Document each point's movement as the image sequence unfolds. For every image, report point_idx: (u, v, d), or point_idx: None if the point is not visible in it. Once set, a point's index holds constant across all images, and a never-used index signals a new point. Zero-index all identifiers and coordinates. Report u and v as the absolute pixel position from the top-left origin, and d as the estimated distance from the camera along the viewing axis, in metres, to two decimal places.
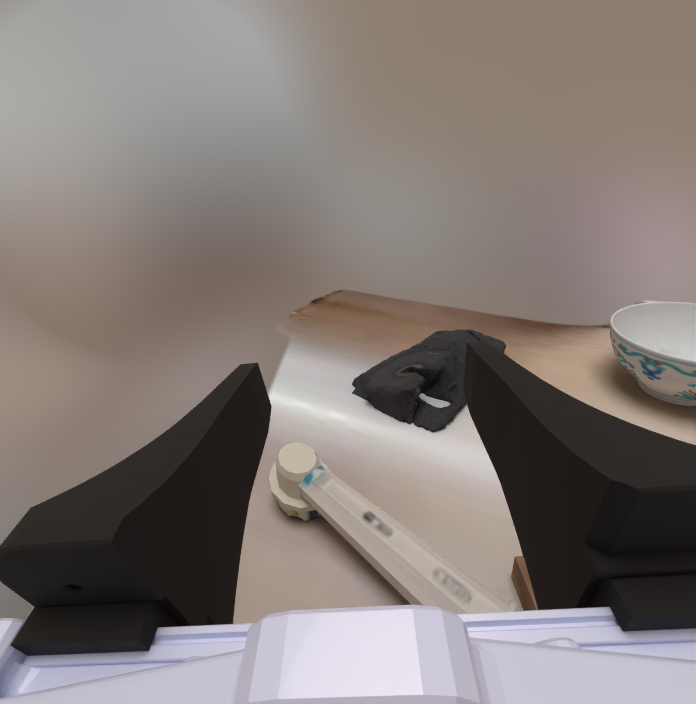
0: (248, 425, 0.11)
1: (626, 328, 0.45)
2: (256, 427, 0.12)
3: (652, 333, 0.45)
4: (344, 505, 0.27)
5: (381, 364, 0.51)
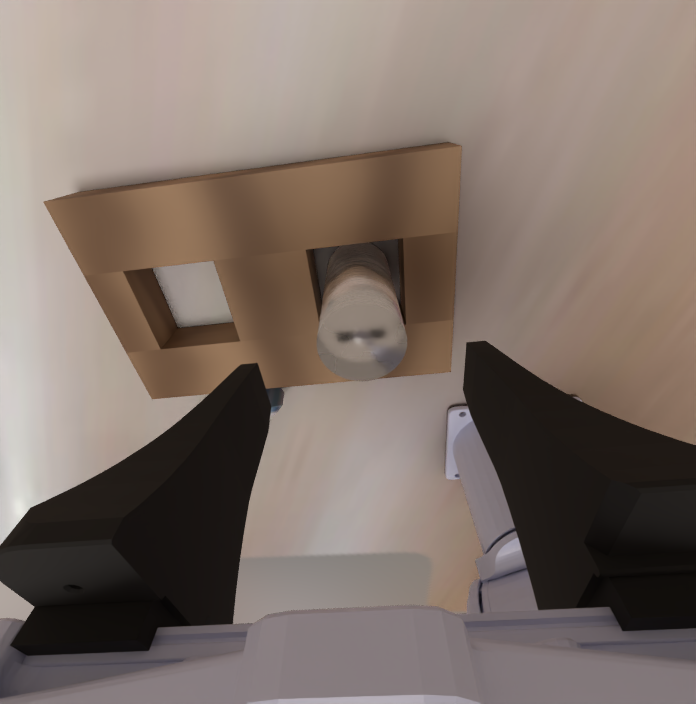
0: (248, 425, 0.11)
1: None
2: (256, 427, 0.12)
3: None
4: None
5: None
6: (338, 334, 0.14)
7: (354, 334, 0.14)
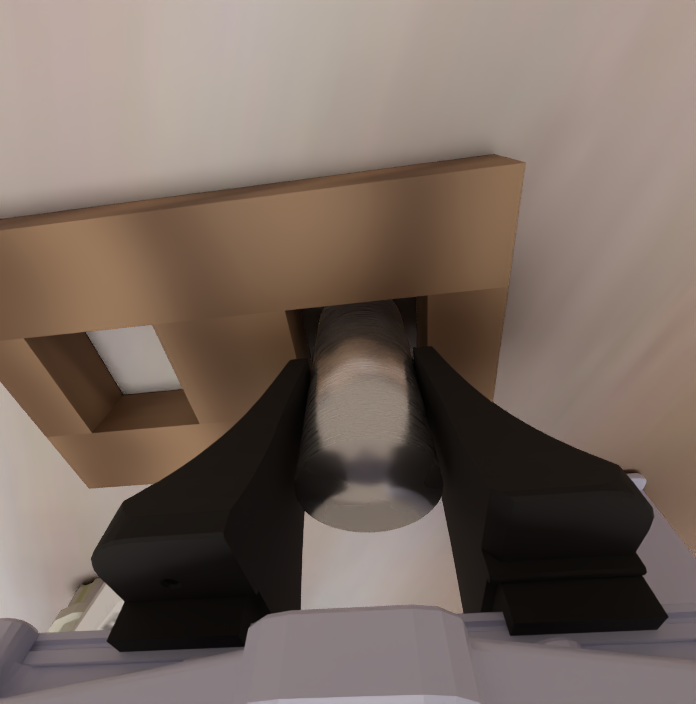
0: (303, 420, 0.11)
1: None
2: None
3: None
4: None
5: None
6: (330, 477, 0.08)
7: (356, 478, 0.08)
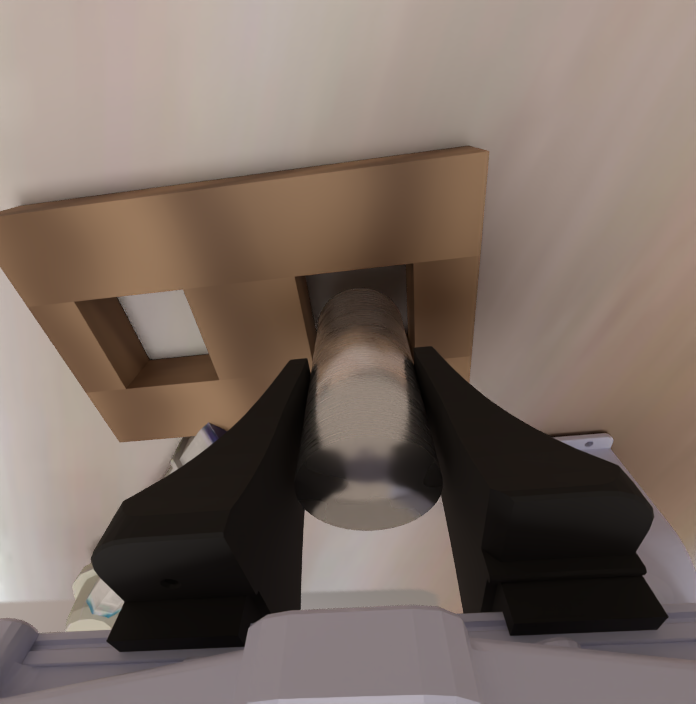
0: (303, 420, 0.11)
1: None
2: None
3: None
4: None
5: None
6: (329, 475, 0.08)
7: (356, 476, 0.08)
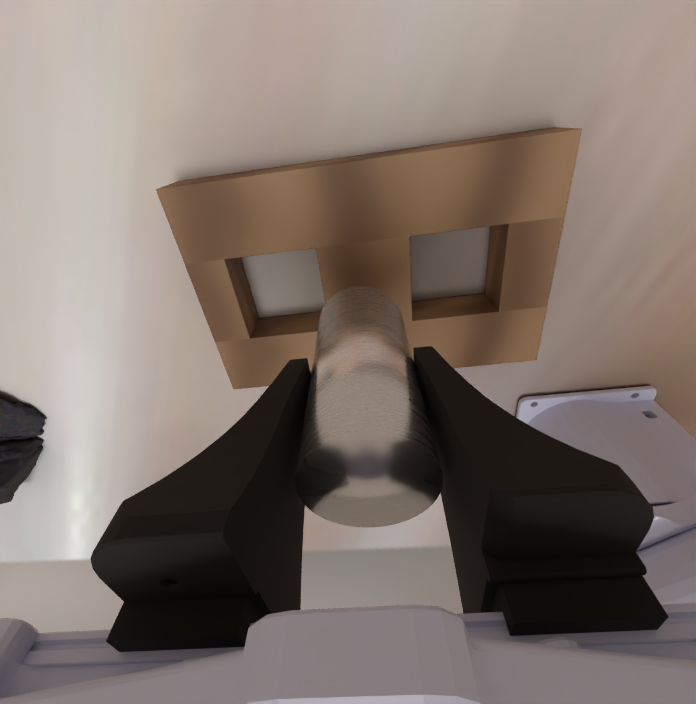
0: (303, 420, 0.11)
1: None
2: None
3: None
4: None
5: None
6: (330, 472, 0.08)
7: (357, 472, 0.08)
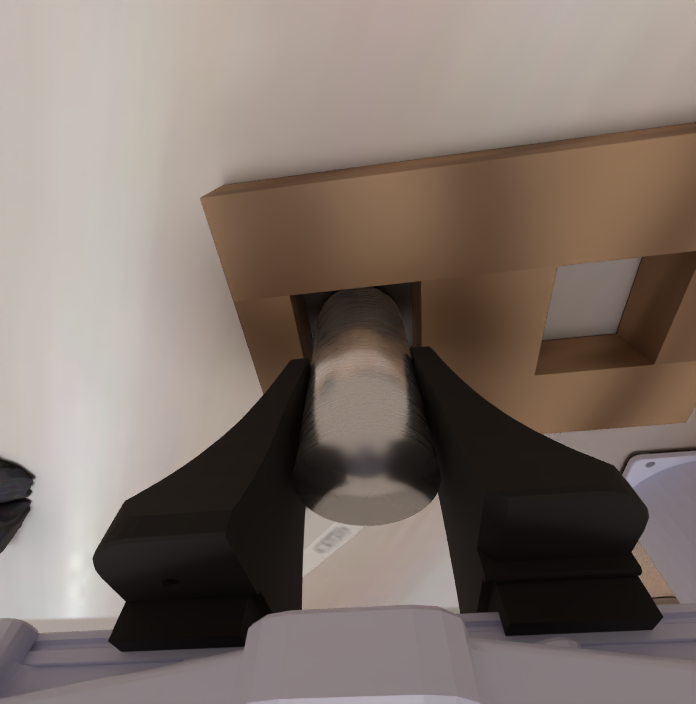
0: None
1: None
2: None
3: None
4: None
5: None
6: (328, 470, 0.08)
7: (355, 471, 0.09)
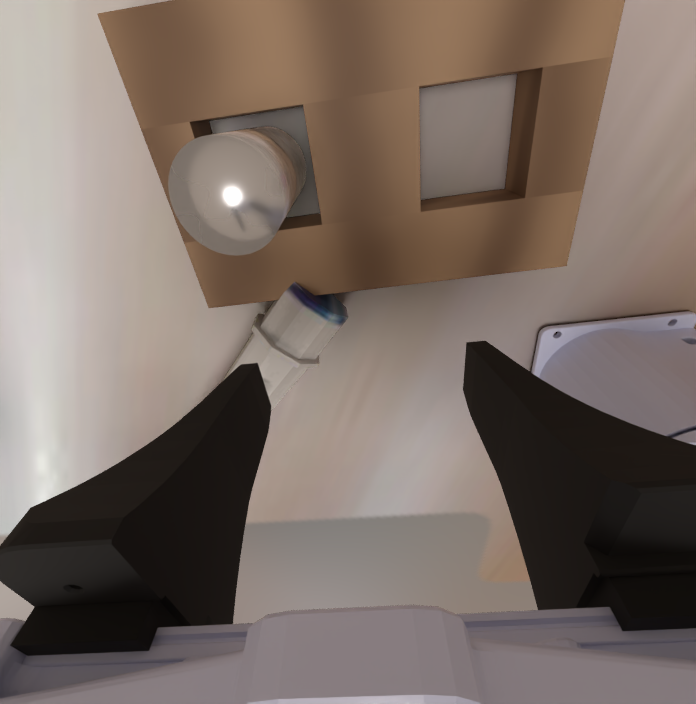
0: (248, 425, 0.11)
1: None
2: (256, 427, 0.12)
3: None
4: None
5: None
6: (193, 183, 0.11)
7: (214, 183, 0.11)
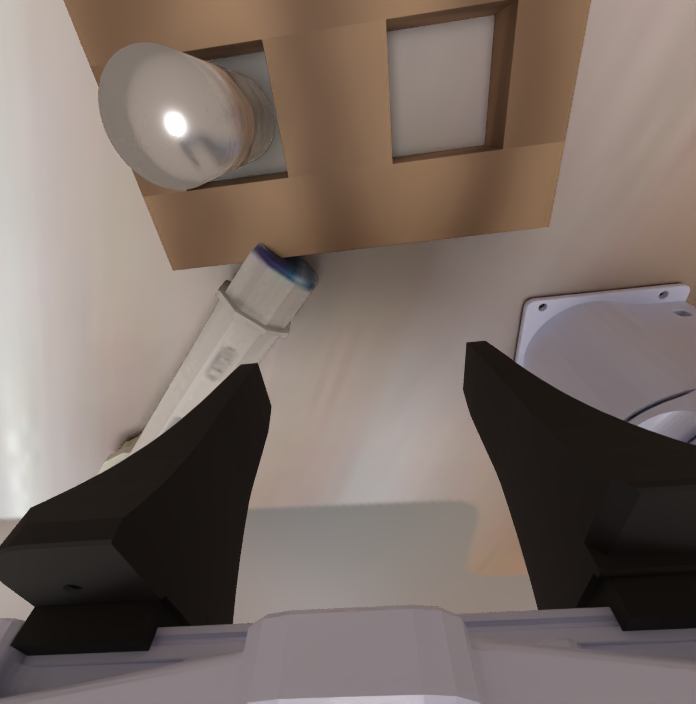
0: (248, 425, 0.11)
1: None
2: (256, 427, 0.12)
3: None
4: None
5: None
6: (126, 101, 0.10)
7: (149, 102, 0.10)
